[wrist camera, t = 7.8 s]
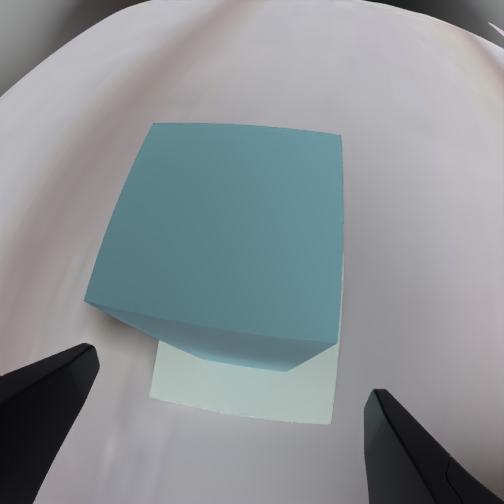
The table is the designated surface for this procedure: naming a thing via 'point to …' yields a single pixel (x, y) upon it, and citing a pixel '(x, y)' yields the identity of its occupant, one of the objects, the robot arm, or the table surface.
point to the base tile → (249, 385)
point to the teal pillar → (229, 243)
